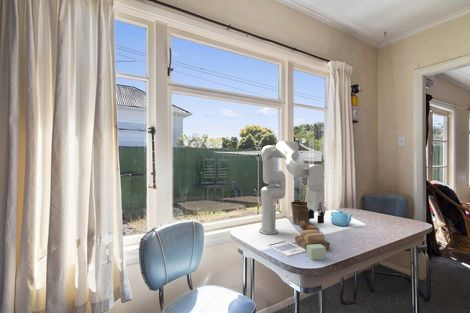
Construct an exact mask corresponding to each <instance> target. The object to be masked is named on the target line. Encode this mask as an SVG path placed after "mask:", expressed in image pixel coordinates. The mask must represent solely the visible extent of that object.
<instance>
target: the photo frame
mask: <svg viewBox="0 0 470 313" xmlns="http://www.w3.org/2000/svg"><path fill="white" fill-rule="evenodd" d="M282 242H286V243H287V244H290V245H292V246H294V247H295V248H292V249H291V248H290V249H288V250H283V251H281V250H279V249H278V248H275V247H274V246H272V245H275V244H279V243H282ZM266 246H267V247H268V248H270V249H273V250H274V251H277V252H279V253H280V254H282V255H283V256H286V257H290V256H295V255H298V254H302V253H305V252H306V253H307V251H306V250H305V249H304V248H301V247H300V246H299V245H298V244H296V243H295V244H294V243H292V242H290V241H287V240H281V241H277V242H272V243H268V244H266Z"/></svg>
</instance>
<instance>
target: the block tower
mask: <svg viewBox="0 0 470 313" xmlns="http://www.w3.org/2000/svg"><path fill="white" fill-rule="evenodd" d="M294 238H295V241H294V242H295V245H297V246H299V247H301V248H304V249H305V250H306V252H307V245H313V244H321V245H323V246H324V247H326V251H330V242H329V241H327V240H326V239H325V234H324V233H322V232H320V230H319V231H318V230H302V229H300V230H299V235H295V237H294Z"/></svg>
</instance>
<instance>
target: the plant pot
mask: <svg viewBox="0 0 470 313" xmlns="http://www.w3.org/2000/svg"><path fill="white" fill-rule="evenodd" d="M290 205H291V206H290V207H291V211H292V212H291V213H292V223H293V224H294V225H296V226H299V222H301V221H303V222H305V223H307V224H308V225H309V226H310V220H311V219H309V218H308V207H307V201H302V200H301V201H300V200H295V201H291V202H290Z"/></svg>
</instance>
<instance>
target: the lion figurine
mask: <svg viewBox="0 0 470 313" xmlns="http://www.w3.org/2000/svg"><path fill="white" fill-rule="evenodd" d="M298 227H299V228H300V230H317V231H319V232H320V230H319V228H318V226H316V225H310V224H309V225H308V224H307V223H305V222H303V221H301V222H299V225H298Z"/></svg>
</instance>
